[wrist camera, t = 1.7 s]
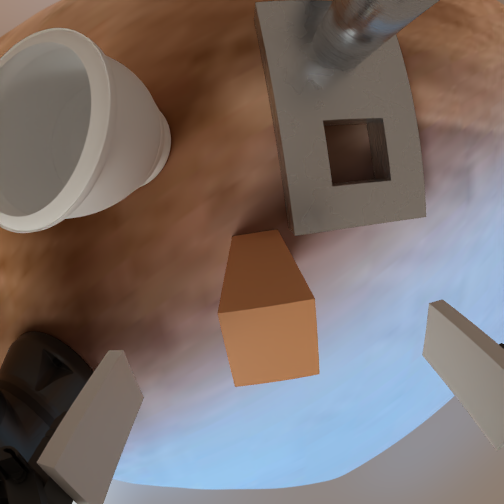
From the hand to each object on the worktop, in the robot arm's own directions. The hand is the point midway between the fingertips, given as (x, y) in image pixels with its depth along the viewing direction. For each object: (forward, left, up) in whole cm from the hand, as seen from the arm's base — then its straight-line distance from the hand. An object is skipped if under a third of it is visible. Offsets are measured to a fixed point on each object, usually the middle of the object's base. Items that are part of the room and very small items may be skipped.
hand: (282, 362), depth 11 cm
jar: (-10, +12, -16) cm, 23 cm away
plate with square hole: (+9, +13, -16) cm, 23 cm away
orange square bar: (0, 0, -16) cm, 16 cm away
